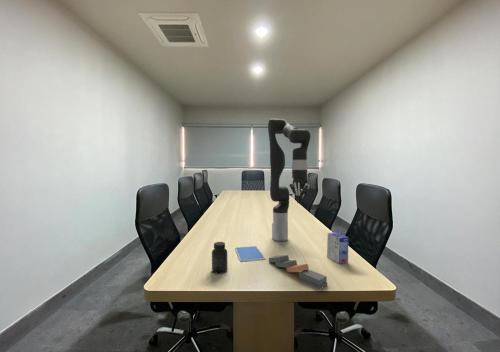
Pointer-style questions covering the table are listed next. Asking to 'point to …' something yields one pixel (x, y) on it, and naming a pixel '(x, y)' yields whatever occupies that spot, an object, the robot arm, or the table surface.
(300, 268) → the domino
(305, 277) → the domino
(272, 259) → the domino
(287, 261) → the domino
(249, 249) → the blue flat board
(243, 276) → the table surface
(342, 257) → the ink cartridge box
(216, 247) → the supplement bottle
